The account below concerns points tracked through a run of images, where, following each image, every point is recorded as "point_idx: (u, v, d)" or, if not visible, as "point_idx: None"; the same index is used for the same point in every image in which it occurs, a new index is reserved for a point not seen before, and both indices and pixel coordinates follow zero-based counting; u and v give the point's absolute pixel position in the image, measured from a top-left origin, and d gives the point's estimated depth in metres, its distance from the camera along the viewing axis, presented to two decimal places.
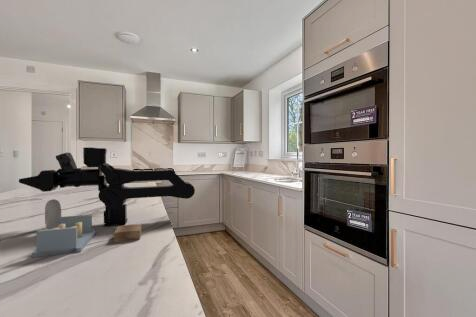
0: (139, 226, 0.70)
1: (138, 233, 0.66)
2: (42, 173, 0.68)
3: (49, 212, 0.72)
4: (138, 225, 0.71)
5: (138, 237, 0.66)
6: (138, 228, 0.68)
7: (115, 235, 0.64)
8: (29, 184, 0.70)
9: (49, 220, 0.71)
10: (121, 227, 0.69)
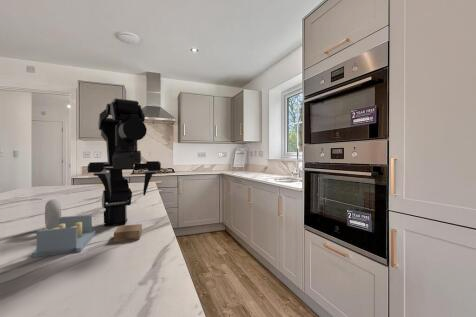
0: (139, 226, 0.70)
1: (138, 233, 0.66)
2: (160, 169, 0.69)
3: (49, 212, 0.72)
4: (138, 225, 0.71)
5: (138, 237, 0.66)
6: (138, 228, 0.68)
7: (115, 235, 0.65)
8: None
9: (49, 220, 0.71)
10: (121, 227, 0.69)
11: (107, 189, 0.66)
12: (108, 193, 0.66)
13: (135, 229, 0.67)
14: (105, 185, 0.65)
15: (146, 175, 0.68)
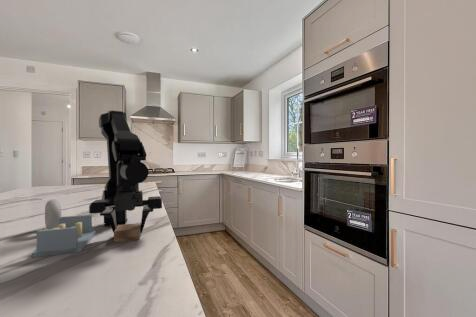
0: (139, 225, 0.70)
1: (138, 232, 0.66)
2: (161, 206, 0.69)
3: (49, 212, 0.72)
4: (138, 224, 0.71)
5: (138, 236, 0.66)
6: (138, 227, 0.68)
7: (115, 234, 0.65)
8: None
9: (49, 220, 0.71)
10: (121, 226, 0.69)
11: (113, 228, 0.66)
12: None
13: (135, 228, 0.67)
14: (111, 224, 0.66)
15: (144, 213, 0.68)
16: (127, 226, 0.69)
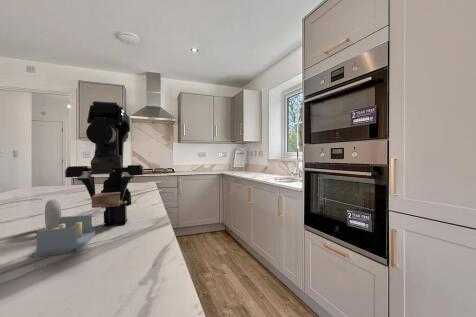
0: (119, 193, 0.68)
1: (117, 198, 0.64)
2: (142, 173, 0.67)
3: (49, 212, 0.72)
4: (118, 192, 0.69)
5: (117, 202, 0.64)
6: (117, 194, 0.66)
7: (93, 199, 0.63)
8: (125, 189, 0.69)
9: (49, 220, 0.71)
10: (100, 193, 0.67)
11: (91, 194, 0.64)
12: None
13: (114, 194, 0.65)
14: (89, 190, 0.64)
15: (123, 180, 0.66)
16: (106, 193, 0.67)
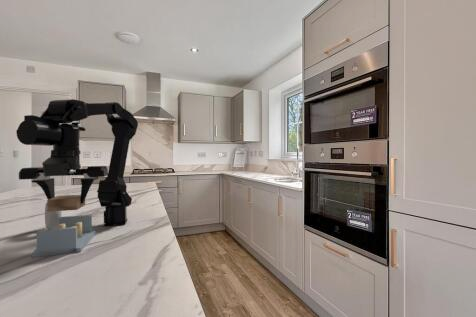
0: (80, 196, 0.65)
1: (75, 201, 0.61)
2: (103, 175, 0.64)
3: (49, 212, 0.72)
4: (80, 195, 0.66)
5: (75, 206, 0.61)
6: (77, 197, 0.63)
7: (48, 202, 0.59)
8: (87, 191, 0.66)
9: (49, 220, 0.71)
10: (60, 196, 0.64)
11: (48, 197, 0.61)
12: None
13: (73, 197, 0.62)
14: (46, 192, 0.61)
15: (83, 182, 0.63)
16: (66, 196, 0.64)
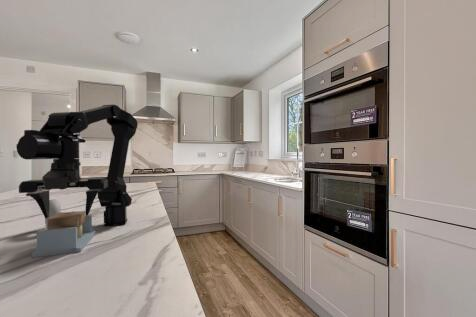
0: (80, 213, 0.65)
1: (75, 220, 0.61)
2: (103, 187, 0.64)
3: None
4: (80, 212, 0.66)
5: (75, 224, 0.61)
6: (77, 215, 0.63)
7: (49, 221, 0.59)
8: (92, 203, 0.66)
9: None
10: (60, 214, 0.64)
11: (43, 210, 0.61)
12: (44, 214, 0.61)
13: (73, 215, 0.62)
14: (41, 205, 0.60)
15: (88, 194, 0.63)
16: (66, 214, 0.64)
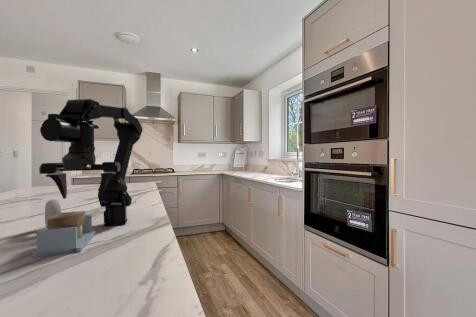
0: (80, 213, 0.65)
1: (75, 220, 0.61)
2: (117, 170, 0.68)
3: (49, 212, 0.72)
4: (80, 212, 0.66)
5: (75, 224, 0.61)
6: (77, 215, 0.63)
7: (49, 221, 0.59)
8: (106, 185, 0.70)
9: None
10: (60, 214, 0.64)
11: (61, 191, 0.65)
12: (63, 194, 0.65)
13: (73, 215, 0.62)
14: (59, 186, 0.65)
15: (103, 176, 0.67)
16: (66, 214, 0.64)
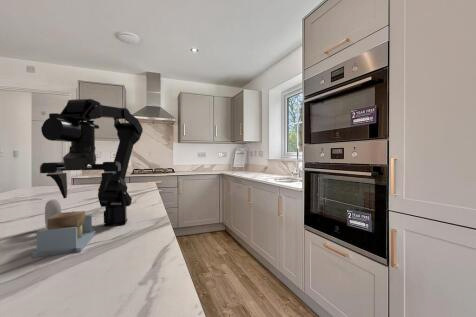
0: (80, 213, 0.65)
1: (75, 220, 0.61)
2: (118, 170, 0.68)
3: (49, 212, 0.72)
4: (80, 212, 0.66)
5: (75, 224, 0.61)
6: (77, 215, 0.63)
7: (49, 221, 0.59)
8: (106, 185, 0.70)
9: None
10: (60, 214, 0.64)
11: (62, 190, 0.65)
12: (63, 194, 0.65)
13: (73, 215, 0.62)
14: (59, 186, 0.65)
15: (103, 176, 0.67)
16: (66, 214, 0.64)
